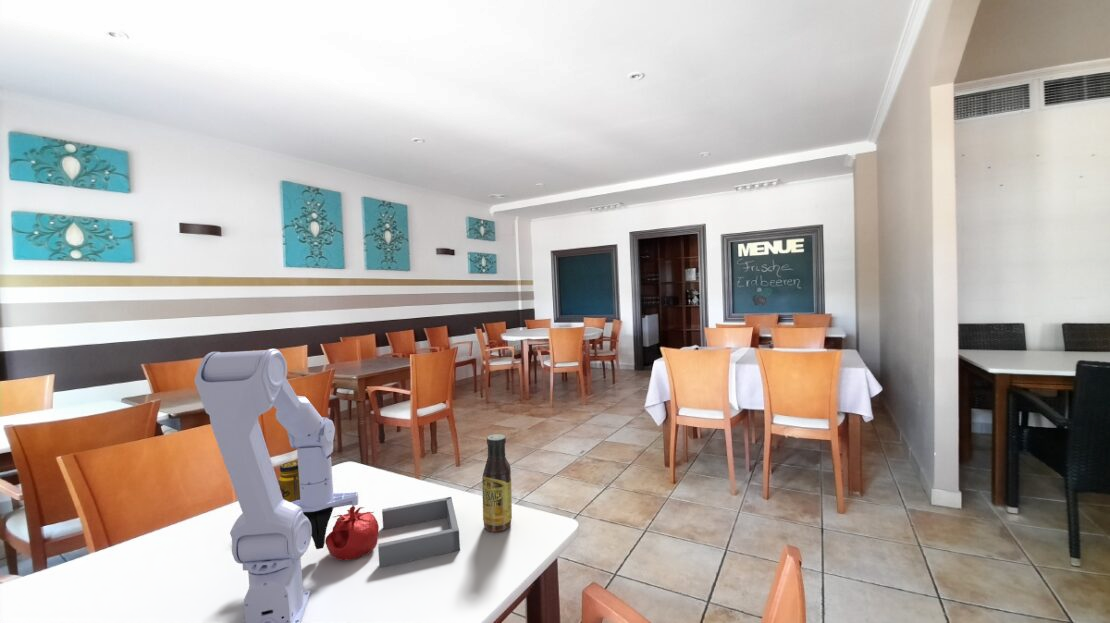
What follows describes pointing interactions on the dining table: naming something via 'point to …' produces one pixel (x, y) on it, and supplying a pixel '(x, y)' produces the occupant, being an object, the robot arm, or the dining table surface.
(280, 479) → the condiment
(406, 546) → the tray
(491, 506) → the sauce bottle
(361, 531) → the pomegranate
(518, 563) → the dining table surface
